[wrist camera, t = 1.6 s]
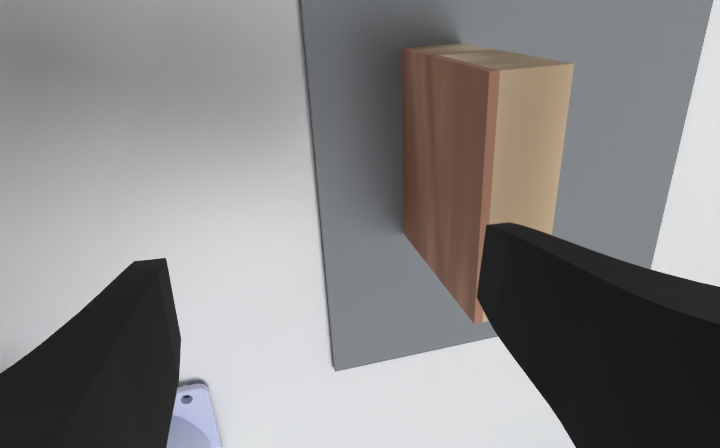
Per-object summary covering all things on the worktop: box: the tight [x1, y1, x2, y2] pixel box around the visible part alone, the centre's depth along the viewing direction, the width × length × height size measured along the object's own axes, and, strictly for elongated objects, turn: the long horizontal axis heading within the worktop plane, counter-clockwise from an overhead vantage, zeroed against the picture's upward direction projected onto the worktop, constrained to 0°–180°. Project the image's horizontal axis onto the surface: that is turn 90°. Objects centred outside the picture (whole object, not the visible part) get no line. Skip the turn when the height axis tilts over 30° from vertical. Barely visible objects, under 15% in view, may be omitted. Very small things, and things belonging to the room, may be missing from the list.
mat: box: [300, 0, 713, 371], centre depth 23 cm, size 18×18×1 cm
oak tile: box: [402, 43, 574, 324], centre depth 18 cm, size 2×8×7 cm, turn 3°
